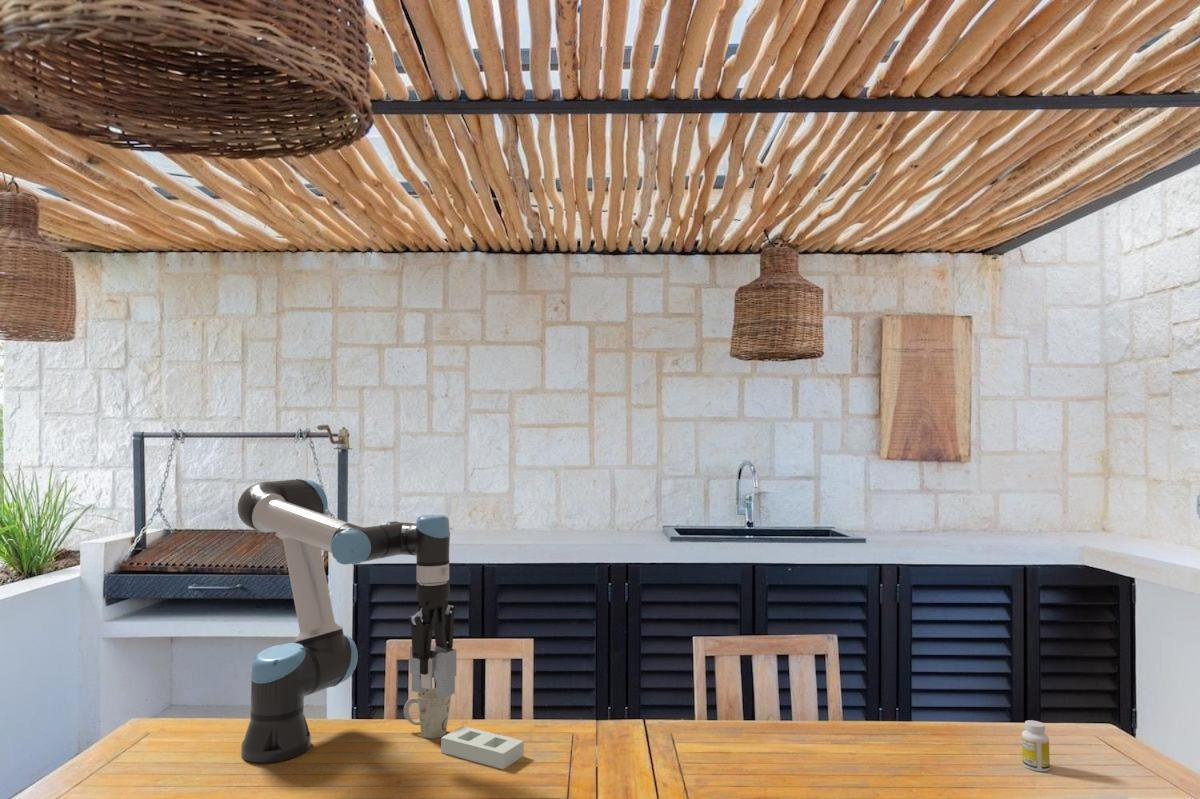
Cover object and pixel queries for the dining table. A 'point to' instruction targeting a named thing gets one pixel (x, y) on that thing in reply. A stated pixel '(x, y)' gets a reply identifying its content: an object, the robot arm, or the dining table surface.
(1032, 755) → the supplement bottle
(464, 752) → the block
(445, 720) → the mug
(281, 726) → the robot arm
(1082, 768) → the dining table surface
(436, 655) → the clip
